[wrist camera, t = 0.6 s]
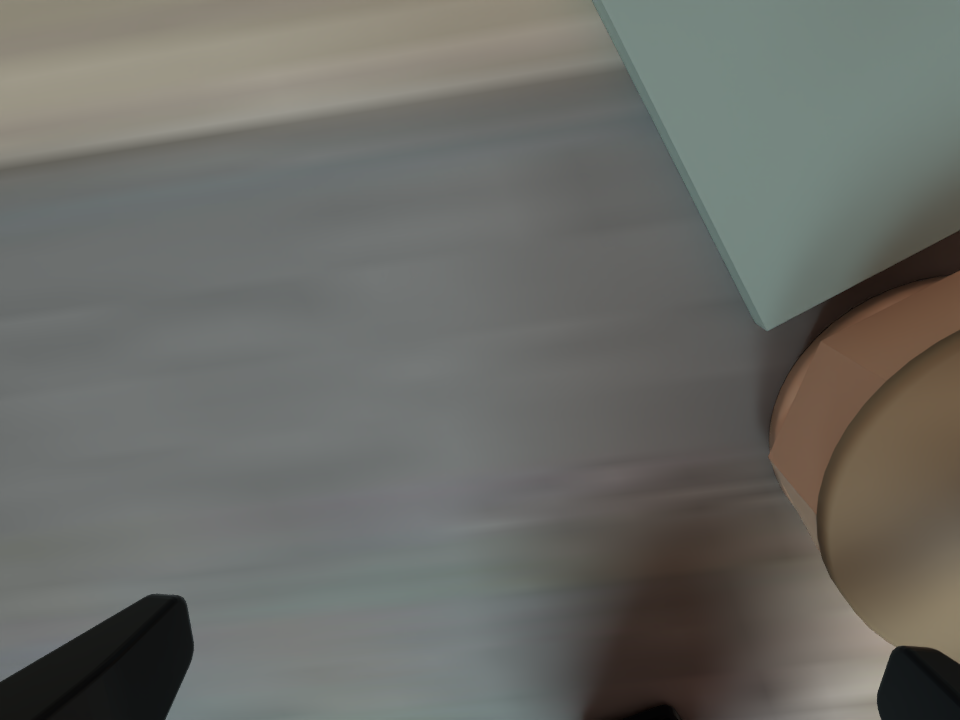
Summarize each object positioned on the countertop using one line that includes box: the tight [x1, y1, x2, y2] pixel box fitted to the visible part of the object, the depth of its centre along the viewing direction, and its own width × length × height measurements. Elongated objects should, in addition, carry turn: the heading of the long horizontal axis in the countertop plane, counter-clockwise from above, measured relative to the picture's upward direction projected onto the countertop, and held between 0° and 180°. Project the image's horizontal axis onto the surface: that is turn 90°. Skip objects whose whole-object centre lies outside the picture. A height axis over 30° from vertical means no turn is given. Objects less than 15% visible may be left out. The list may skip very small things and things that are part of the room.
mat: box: [592, 0, 960, 331], centre depth 15 cm, size 13×13×1 cm
